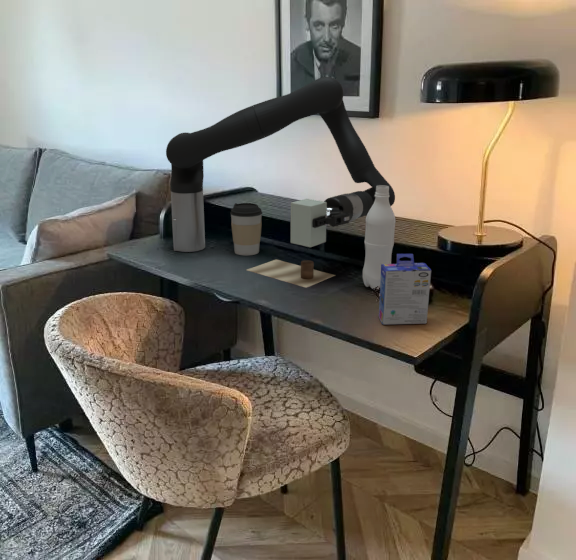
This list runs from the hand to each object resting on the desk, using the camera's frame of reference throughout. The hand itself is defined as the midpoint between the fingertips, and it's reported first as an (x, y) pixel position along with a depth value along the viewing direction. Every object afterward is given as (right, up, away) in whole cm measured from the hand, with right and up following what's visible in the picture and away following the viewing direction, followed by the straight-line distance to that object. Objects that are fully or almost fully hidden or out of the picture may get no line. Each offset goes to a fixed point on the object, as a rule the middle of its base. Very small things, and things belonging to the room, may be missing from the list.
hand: (302, 221), depth 146 cm
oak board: (-3, -13, +10) cm, 17 cm away
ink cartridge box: (+21, -23, -15) cm, 35 cm away
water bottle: (+19, -16, +5) cm, 25 cm away
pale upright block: (+2, -5, +4) cm, 6 cm away
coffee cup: (-15, -7, +28) cm, 32 cm away
